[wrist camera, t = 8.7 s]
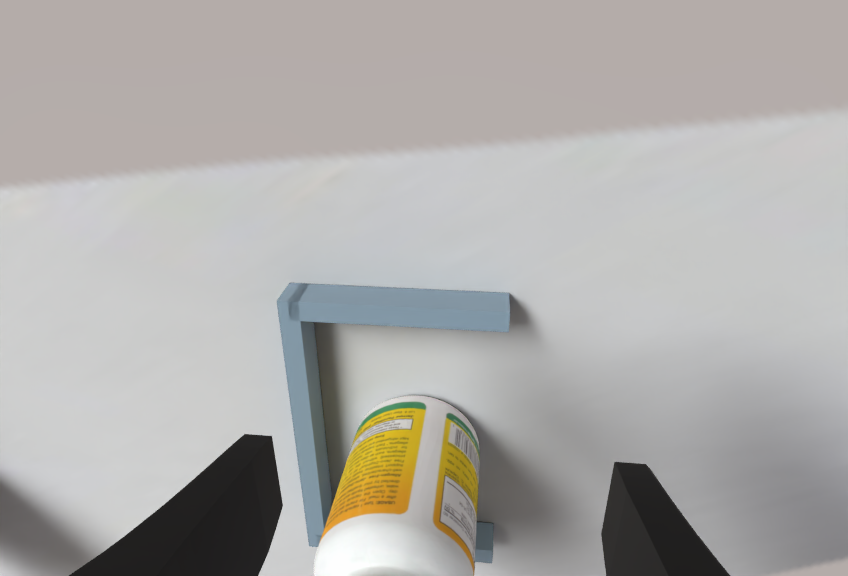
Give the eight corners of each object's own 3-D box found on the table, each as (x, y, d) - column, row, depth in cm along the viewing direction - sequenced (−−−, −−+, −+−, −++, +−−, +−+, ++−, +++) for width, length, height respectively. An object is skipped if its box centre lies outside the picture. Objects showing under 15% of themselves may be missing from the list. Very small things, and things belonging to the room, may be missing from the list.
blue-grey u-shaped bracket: (508, 293, 21) (510, 312, 20) (492, 535, 27) (491, 563, 26) (289, 283, 22) (276, 300, 21) (318, 520, 28) (309, 546, 27)
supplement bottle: (499, 416, 24) (502, 646, 15) (452, 501, 26) (432, 740, 18) (378, 372, 24) (312, 581, 15) (342, 461, 26) (267, 686, 18)
